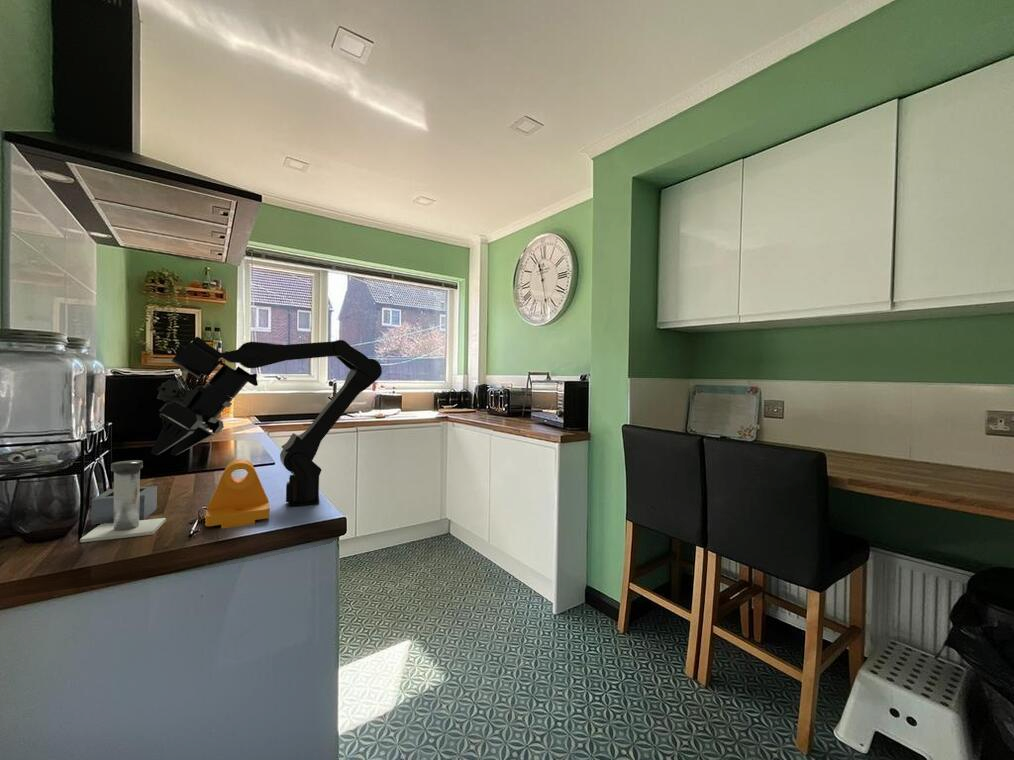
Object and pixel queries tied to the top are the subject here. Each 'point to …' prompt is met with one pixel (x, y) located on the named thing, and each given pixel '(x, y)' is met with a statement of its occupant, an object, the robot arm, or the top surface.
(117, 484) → the key peg
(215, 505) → the bracket
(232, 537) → the top surface
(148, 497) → the grey open box
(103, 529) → the mat
